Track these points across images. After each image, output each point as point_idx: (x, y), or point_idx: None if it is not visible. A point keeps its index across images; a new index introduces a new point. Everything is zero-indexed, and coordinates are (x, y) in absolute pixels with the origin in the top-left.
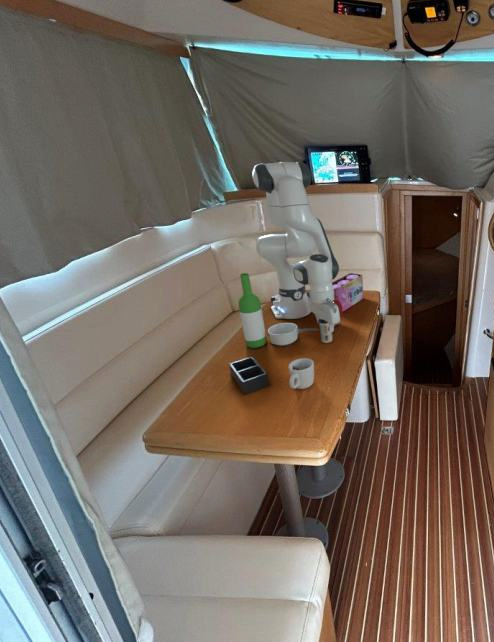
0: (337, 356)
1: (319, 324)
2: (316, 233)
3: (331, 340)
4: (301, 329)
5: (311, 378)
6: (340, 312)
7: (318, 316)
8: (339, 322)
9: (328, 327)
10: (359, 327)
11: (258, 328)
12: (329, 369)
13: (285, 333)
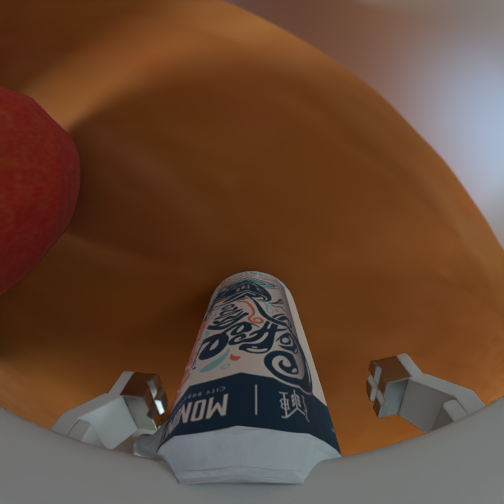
0: (446, 318)
1: (166, 401)
2: None
3: (289, 294)
4: (145, 448)
5: None
6: (20, 111)
7: (102, 436)
8: (71, 139)
9: (388, 415)
10: (187, 29)
11: None
12: (477, 367)
13: None
